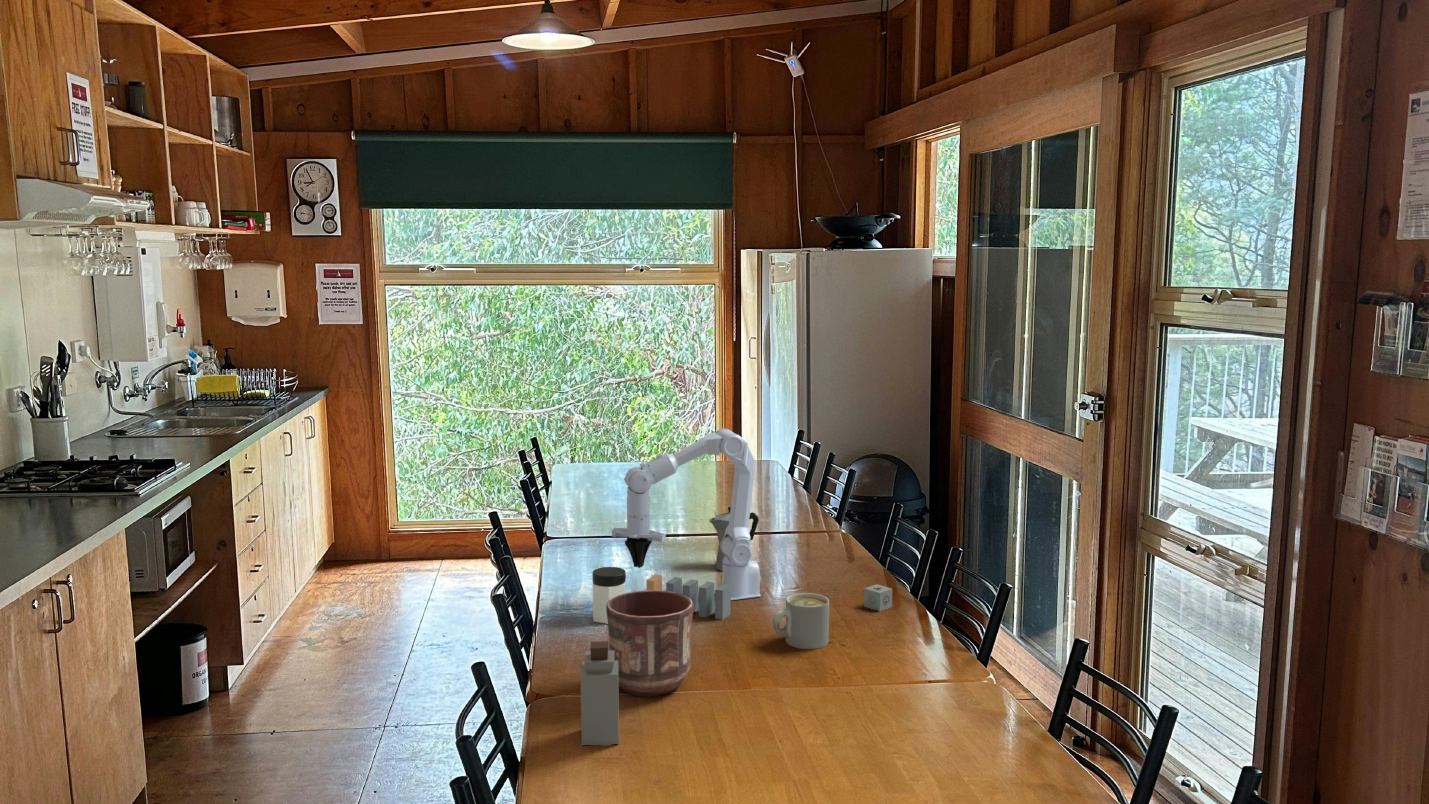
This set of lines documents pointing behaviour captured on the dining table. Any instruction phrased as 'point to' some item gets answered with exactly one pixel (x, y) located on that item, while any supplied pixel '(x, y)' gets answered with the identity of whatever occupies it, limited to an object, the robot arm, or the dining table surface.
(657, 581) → the domino
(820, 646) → the coffee mug
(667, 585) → the domino
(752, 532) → the coffeepot
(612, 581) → the jar
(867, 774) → the dining table surface
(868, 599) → the white cube
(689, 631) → the pottery
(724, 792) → the dining table surface
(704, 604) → the domino
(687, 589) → the domino
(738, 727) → the dining table surface
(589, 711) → the perfume bottle
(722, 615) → the domino
